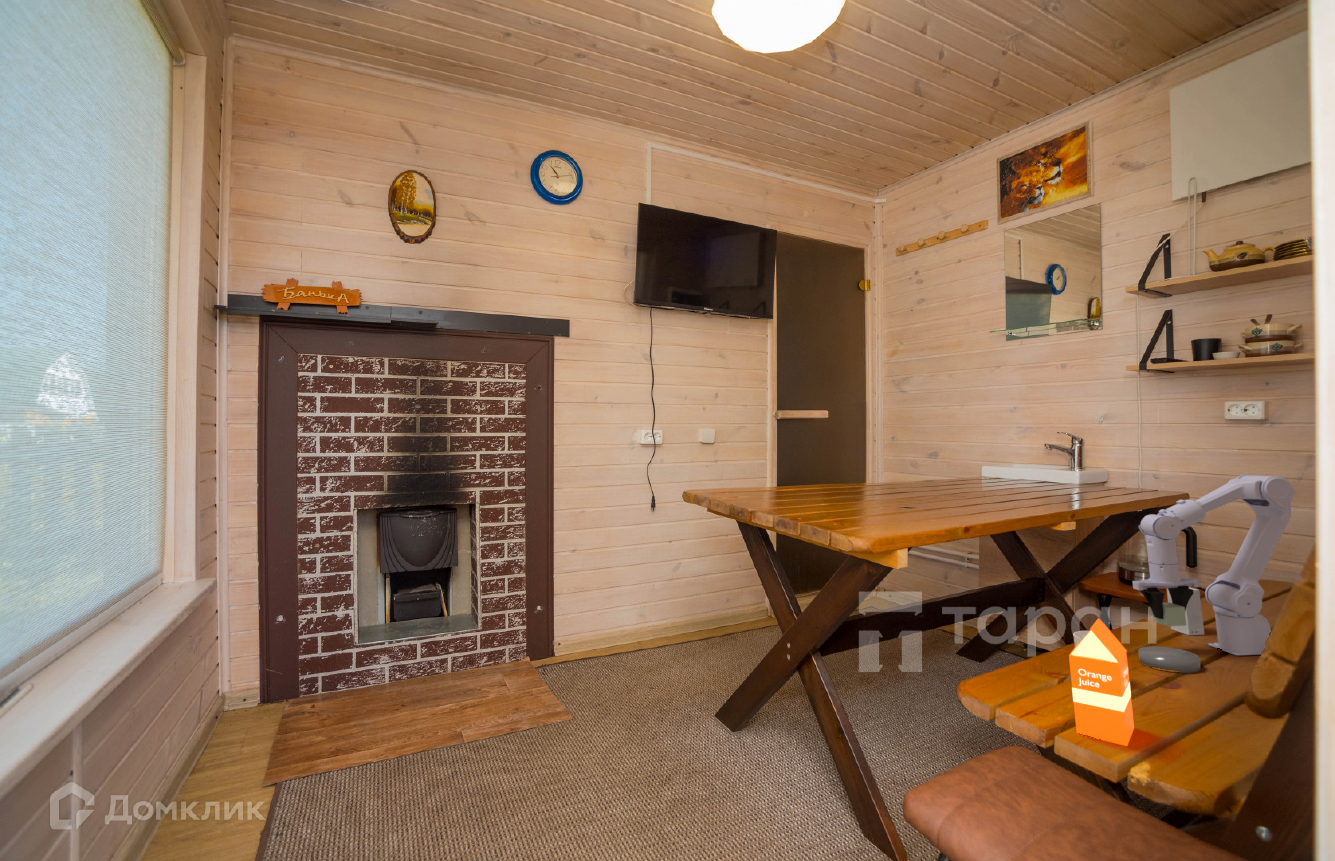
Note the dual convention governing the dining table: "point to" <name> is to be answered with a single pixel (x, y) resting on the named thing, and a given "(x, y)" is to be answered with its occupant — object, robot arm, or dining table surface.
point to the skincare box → (1191, 615)
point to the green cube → (1172, 615)
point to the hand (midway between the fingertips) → (1169, 617)
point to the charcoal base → (1170, 659)
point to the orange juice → (1101, 687)
